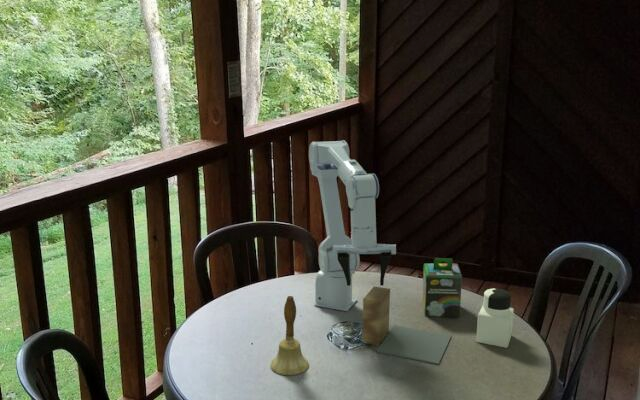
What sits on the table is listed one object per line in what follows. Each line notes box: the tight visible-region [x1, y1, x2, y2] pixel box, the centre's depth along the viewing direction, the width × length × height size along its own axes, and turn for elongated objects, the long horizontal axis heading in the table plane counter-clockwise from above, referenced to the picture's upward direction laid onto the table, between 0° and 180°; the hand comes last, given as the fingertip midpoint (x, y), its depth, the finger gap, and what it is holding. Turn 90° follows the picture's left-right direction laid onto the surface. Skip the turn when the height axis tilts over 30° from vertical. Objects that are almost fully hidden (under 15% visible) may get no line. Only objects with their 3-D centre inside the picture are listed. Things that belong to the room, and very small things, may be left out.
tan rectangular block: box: [361, 286, 391, 347], centre depth 139 cm, size 4×8×11 cm, turn 157°
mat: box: [376, 324, 452, 366], centre depth 136 cm, size 14×14×1 cm
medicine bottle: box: [475, 287, 515, 349], centre depth 138 cm, size 7×7×12 cm
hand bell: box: [270, 295, 310, 376], centre depth 125 cm, size 8×8×16 cm
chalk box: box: [422, 257, 463, 318], centre depth 153 cm, size 9×9×15 cm
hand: (365, 284), depth 137 cm, fingers open, 7 cm apart
